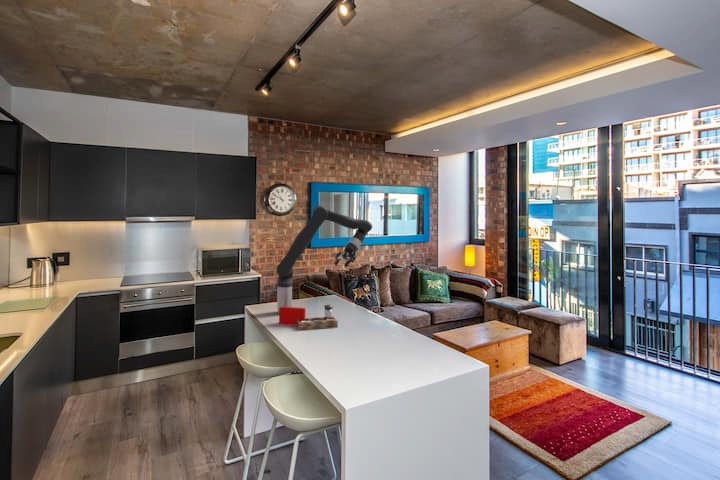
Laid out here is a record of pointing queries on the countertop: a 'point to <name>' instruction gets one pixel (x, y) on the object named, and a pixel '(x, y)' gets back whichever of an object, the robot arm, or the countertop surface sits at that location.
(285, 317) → the play button
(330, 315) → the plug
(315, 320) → the socket bar
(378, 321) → the countertop surface
